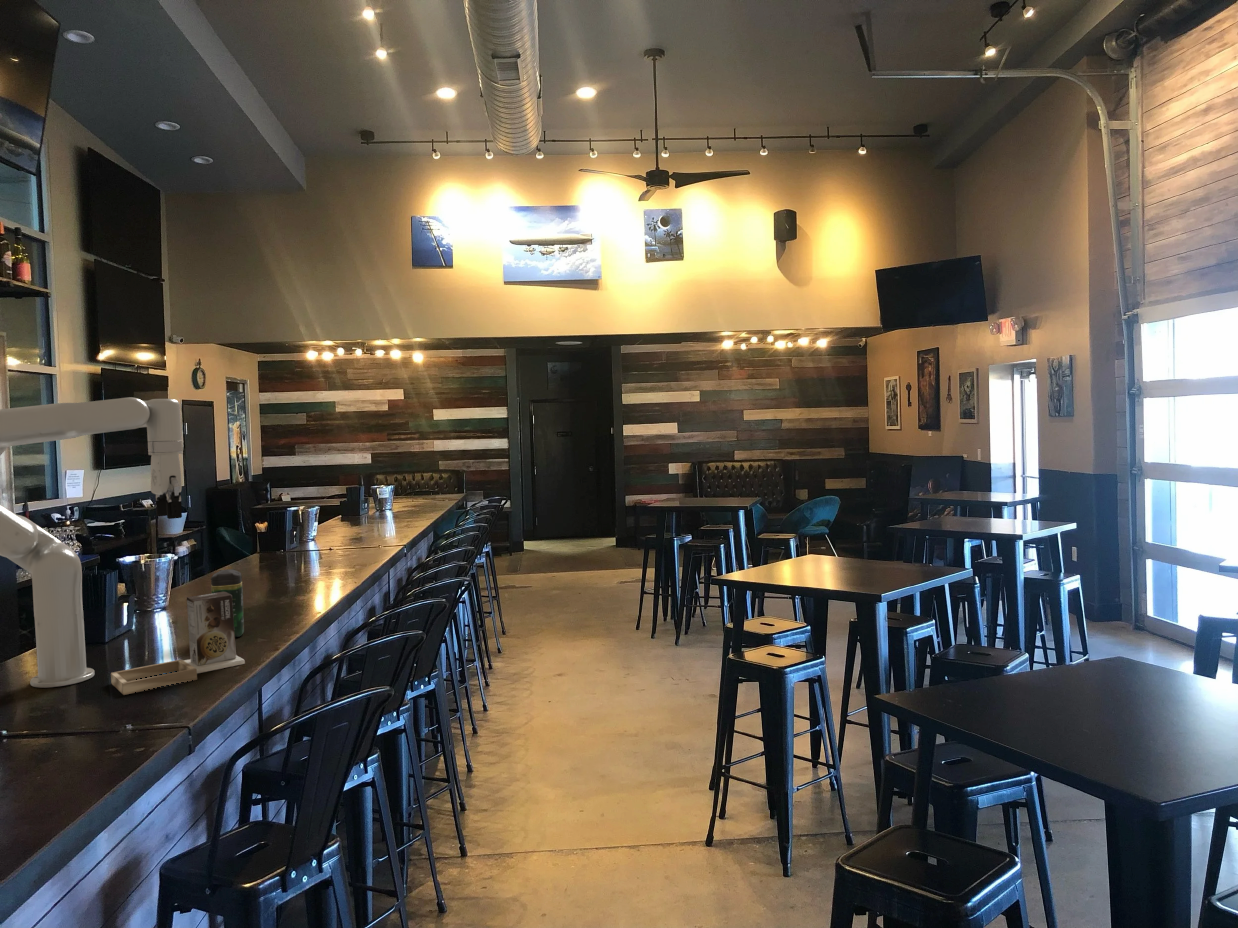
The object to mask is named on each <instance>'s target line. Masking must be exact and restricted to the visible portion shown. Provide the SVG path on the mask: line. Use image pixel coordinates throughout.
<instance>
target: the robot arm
mask: <svg viewBox="0 0 1238 928" xmlns="http://www.w3.org/2000/svg"><path fill="white" fill-rule="evenodd" d="M181 417H182V416H181V405H180V402H179V401H178V400H177V399H174V398H152V399H149V400H141V399H140V398H137V397H132V396H131V397H130V396H129V397H121V398H112V399H110V398H109V399H104V400H103V399H101V400H95V401H94V400H93V401H92V400H91V401H79V402H59V403H49V404H39V405H30V406H28V405H27V406H22V407H21V406H20V407H11V408H0V456H1V455H2V454H4V452H5V451H6V450H8V448H9V447H15V446H21V445H22V446H23V445H24V446H25V445H29V444H31V445H33V444H37V443H45V442H46V443H47V442H54V441H61V440H69V439H70V440H71V439H75V438H80V437H83V436H87V435H94V434H103V433H110V432H119V431H127V430H136V429H139V428H146V432H147V433H146V434H147V435H146V437H147V449H148V450H147V451H148V456H151V457H150V492H151V493H152V494H153V495H155V513H156V514H155V515H156V516H157V517H166V518H167V519H168V520H170V519H171V520H174V519H181V518H183V513H182V512H183V511H182V510H183V509H182V508H183V507H182V496H181V495H182V493H181V492H182V489H183V488H182V485H183V484H182V483H183V481H182V473H181V472H182V470H181V461H180V455H183V453H184V452H183V438H182V436H183V435H182V418H181ZM0 556H1V557H4V558H7V559H8V560H9V561H11V562H12V563H14V564H16V565H18V566H19V567H20V568H22V569H23V570H25V571H26V572H28V573H29V574H31V581H32V582H31V583H32V600H33V601H32V602H33V617H34V628H35V643H36V644H35V645H36V646H35V647H36V660H37V675H34V677H32V678H31V679H30V682H29V683H30V686H32V687H33V688H45V689H46V688H47V689H48V688H56V687H58V688H59V687H64V686H69V685H74V684H78V683H82V682H84V681H87V680H89V679H91V678H93V677H94V676H95V670H94V669H93V668H91V667H87V653H86V640H85V639H86V638H85V636H86V635H85V621H84V618H85V617H84V610H83V609H84V608H83V606H84V605H83V571H82V570H83V567H82V563H81V559H80V557H79V556H78V554H77V553H76V552H75V551H74V549H72V548H71V547H70V546H68V545H67V544H65V543H64V542H62V541H61V540H60V539H58V538H57V537H55V536H54V535H52V534H50V533H49V532H48V531H46V530H45V529H43V528H42V527H41V526H40V525H38V524H36V523H35V522H33V521H32V520H30V519H29V518H27V517H26V516H23V515H19V514H16V513H15V512H13V511H11V510H10V509H9V508H7V507H5V506H4V505H3V504H1V503H0Z"/></svg>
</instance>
